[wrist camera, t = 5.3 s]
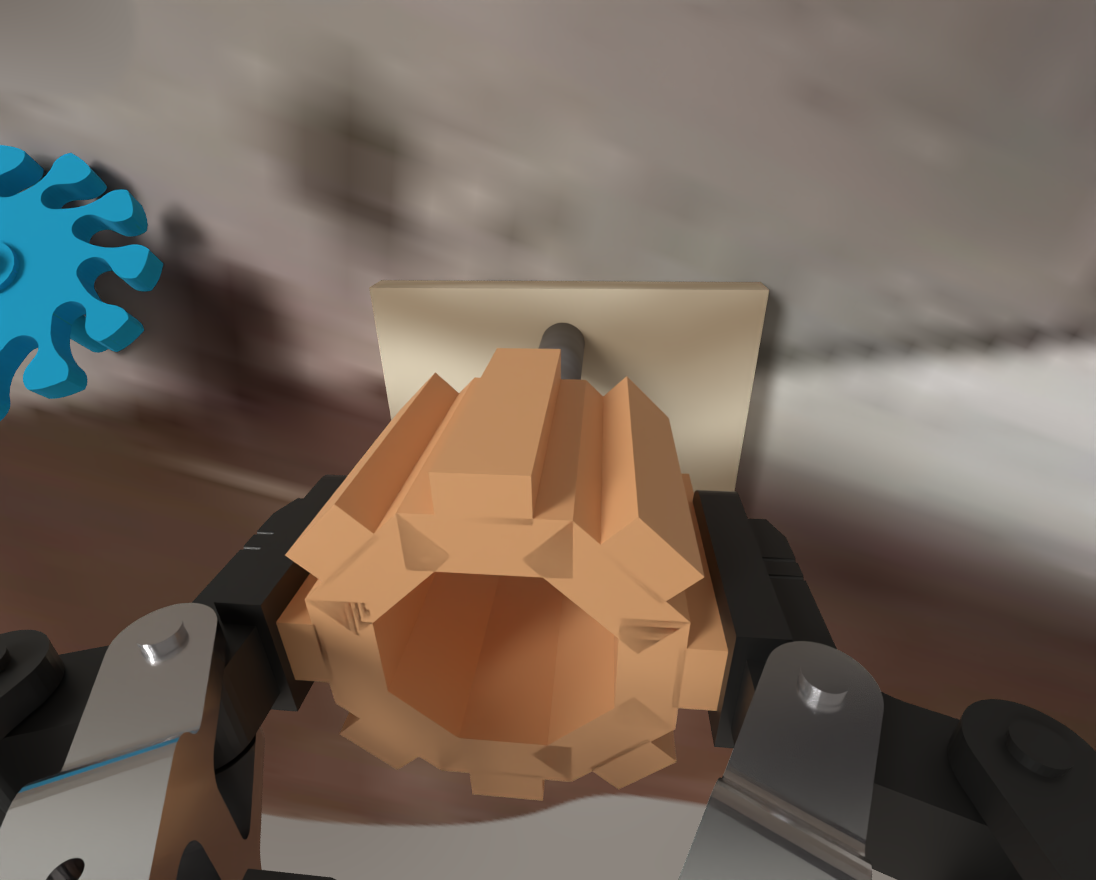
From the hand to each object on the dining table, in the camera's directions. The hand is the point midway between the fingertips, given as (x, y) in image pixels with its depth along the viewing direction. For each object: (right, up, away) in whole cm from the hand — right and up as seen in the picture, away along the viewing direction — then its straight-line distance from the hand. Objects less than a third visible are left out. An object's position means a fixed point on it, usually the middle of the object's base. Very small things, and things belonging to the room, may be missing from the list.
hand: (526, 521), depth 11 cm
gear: (0, +1, +1) cm, 1 cm away
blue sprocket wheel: (-18, +9, +11) cm, 23 cm away
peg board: (+1, +1, +13) cm, 13 cm away
